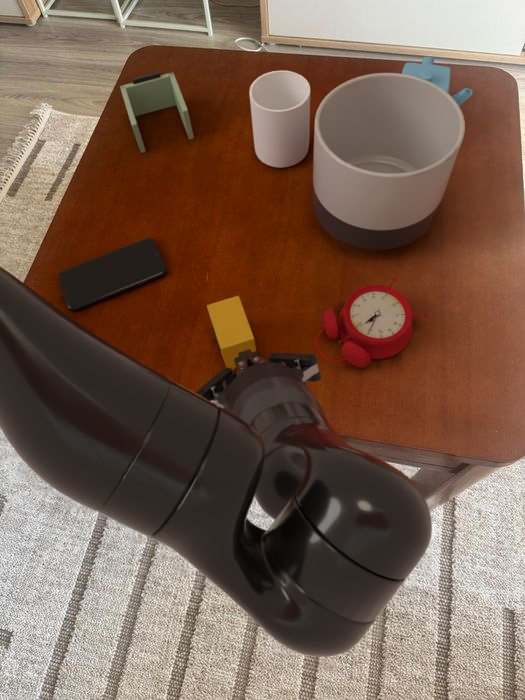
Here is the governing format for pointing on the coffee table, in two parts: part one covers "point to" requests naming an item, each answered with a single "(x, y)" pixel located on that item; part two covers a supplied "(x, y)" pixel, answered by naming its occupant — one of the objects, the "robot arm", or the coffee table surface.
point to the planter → (383, 158)
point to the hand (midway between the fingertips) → (246, 358)
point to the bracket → (154, 100)
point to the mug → (280, 117)
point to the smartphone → (111, 274)
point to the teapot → (435, 77)
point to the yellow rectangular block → (231, 329)
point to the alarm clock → (370, 325)
